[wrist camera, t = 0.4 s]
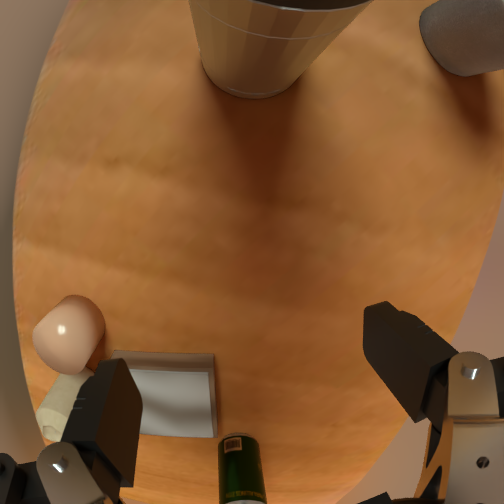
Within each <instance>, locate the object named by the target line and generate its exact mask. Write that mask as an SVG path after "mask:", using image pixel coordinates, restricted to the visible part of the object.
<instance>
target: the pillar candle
mask: <svg viewBox="0 0 504 504" xmlns="http://www.w3.org/2000/svg"><path fill="white" fill-rule="evenodd" d="M419 24H420V25H419V26H420V31H421V35H422V38H423V40H424V42H425V44H426V46H427V48H428V50H429V52H430V53H431V54H432V56H433V57H434V58H435V60H436V61H437V62H438V63H439V64H440V65H441V66H442V67H443V68H444V69H446V70H447V71H449V72H451V73H453V74H456V75H459V76H464V77H466V76H472V75H477V74H481V73H486V72H492V71H497V70H501V69H504V0H439V1H437V2H436V3H434V4H432V5H431V6H429V7H427V8H426V9H425V10H424V11H423V12H422V14H421V16H420V21H419Z"/></svg>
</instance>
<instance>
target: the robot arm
mask: <svg viewBox="0 0 504 504" xmlns="http://www.w3.org/2000/svg"><path fill="white" fill-rule="evenodd" d="M372 1H373V0H189V5H190V9H191V14H192V19H193V23H194V28H195V32H196V37H197V41H198V47H199V51H200V56H201V60H202V64H203V67H204V69H205V72H206V74H207V75H208V77H209V78H210V79H211V81H212V82H213V83H214V84H215V85H217V86H218V87H219V88H220V89H222V90H223V91H225V92H227V93H229V94H231V95H234V96H237V97H240V98H247V99H262V98H267V97H271V96H274V95H276V94H279V93H281V92H283V91H284V90H286V89H287V88H288V87H290V86H291V85H292V84H293V83H294V81H295V80H296V79H297V78H298V77H299V76H300V75H301V74H302V73H303V72H304V71H305V70H306V69H307V68H308V67H309V66H310V64H311V63H312V62H313V61H314V60H315V59H316V58H317V57H318V56H319V55H320V54H321V53H322V52H323V51H324V50H325V48H326V47H327V46H328V45H329V44H330V43H331V42H332V41H333V40H334V39H335V38H336V37H337V36H338V35H339V34H340V33H341V32H342V31H343V30H344V29H345V28H346V27H347V26H348V25H349V24H350V23H351V22H352V21H353V20H354V19H355V18H356V17H357V16H358V15H359V14H360V13H361V12H362V11H363V10H364V9H365V8H366V7H367V6H368V5H369V4H370V3H371V2H372ZM363 350H364V354H365V357H366V359H367V361H368V362H369V363H370V365H371V366H372V367H373V369H374V370H375V371H376V373H377V374H378V375H379V376H380V378H381V379H382V380H383V382H384V383H385V384H386V386H387V387H388V388H389V389H390V391H391V392H392V393H393V395H394V396H395V397H396V399H397V400H398V401H399V403H400V404H401V405H402V407H403V408H404V409H405V411H406V412H407V413H408V415H409V416H410V417H411V419H412V420H413V421H414V423H417V422H419V421H421V420H423V419H425V418H428V419H429V420H430V421H431V423H430V425H429V429H428V437H427V445H426V451H425V457H424V462H423V468H422V473H421V477H420V480H419V483H418V485H417V488H416V491H415V494H414V497H413V498H402V499H394V500H391V499H390V497H389V495H388V493H387V492H385V493H382V494H380V495H378V496H375V497H373V498H370V499H368V500H366V501H363V502H360V503H358V504H504V357H501V358H497V359H493V360H489V359H488V358H487V357H485V356H484V355H482V354H480V353H476V352H462V353H459V352H458V351H456V350H455V349H454V348H453V347H452V346H451V345H450V344H449V343H447V342H446V341H445V340H444V339H443V338H442V337H440V336H439V335H438V334H437V333H436V332H433V331H432V329H431V328H430V327H429V326H427V325H425V323H424V322H423V321H421V320H420V319H419V318H418V317H417V316H415V315H413V314H410V313H408V312H405V311H398V310H397V309H396V308H395V307H394V306H393V305H391V304H390V303H389V302H387V301H384V302H381V303H377V304H374V305H371V306H367V307H366V308H365V310H364V324H363ZM142 412H143V402H142V397H141V394H140V391H139V389H138V387H137V385H136V383H135V381H134V379H133V377H132V375H131V373H130V370H129V368H128V366H127V364H126V362H125V360H124V359H123V358H116V359H108V360H101V361H100V362H99V364H98V367H97V369H96V372H95V374H94V376H90V377H89V378H88V379H87V380H86V381H85V382H84V383H83V384H82V386H81V387H80V389H79V392H78V394H77V397H76V400H75V402H74V404H73V409H72V410H71V412H70V415H69V417H68V420H67V423H66V426H65V428H64V431H63V434H62V437H61V440H60V442H56V443H52V444H50V445H48V446H47V447H45V448H44V449H43V450H42V451H41V453H40V454H39V456H38V458H37V461H35V462H29V463H25V464H17V463H16V462H15V461H14V460H13V458H12V457H11V456H9V455H8V454H5V453H0V504H125V502H124V501H123V499H122V498H121V497H120V496H119V492H120V487H133V485H134V475H135V465H136V457H137V448H138V441H139V433H140V426H141V419H142Z"/></svg>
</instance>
